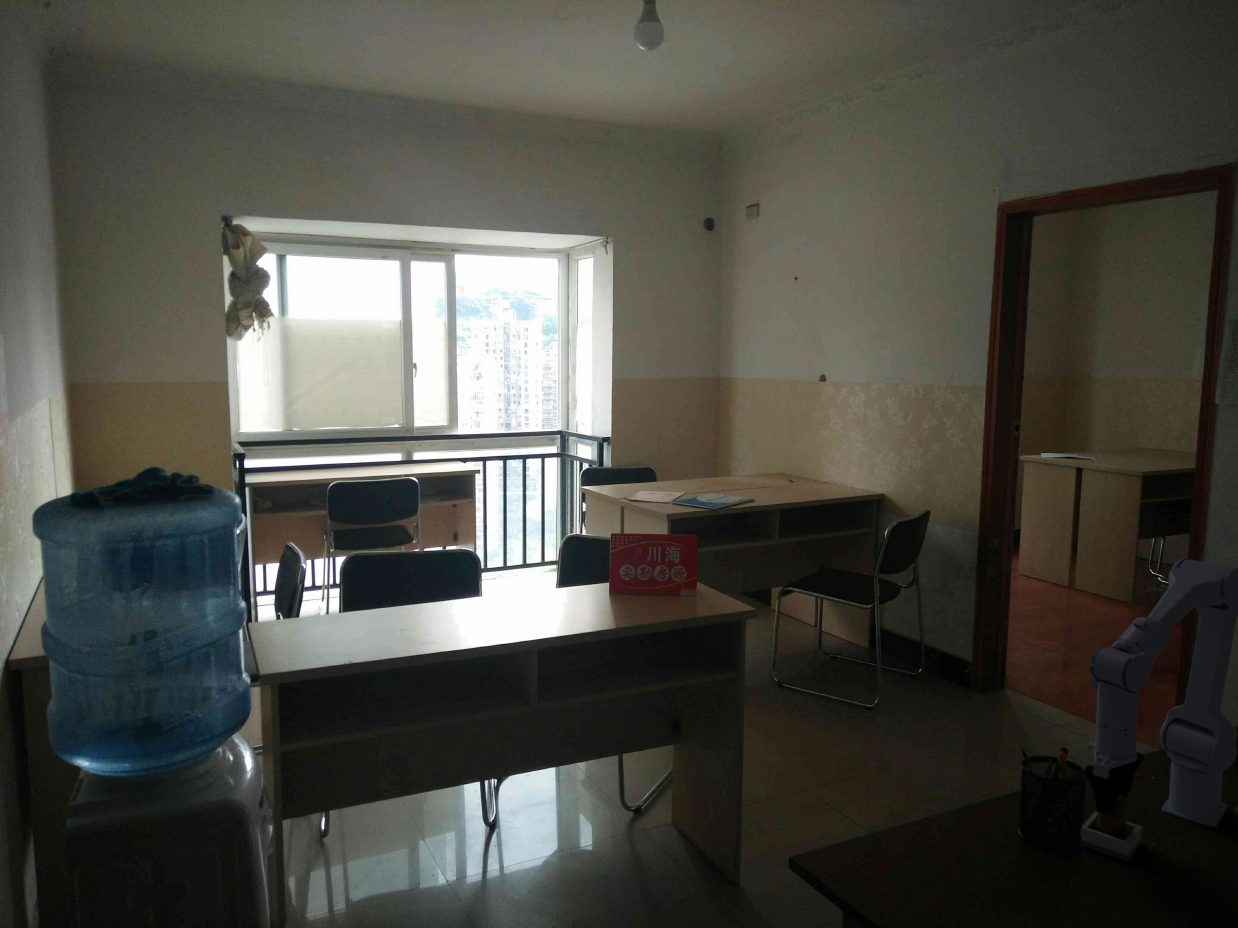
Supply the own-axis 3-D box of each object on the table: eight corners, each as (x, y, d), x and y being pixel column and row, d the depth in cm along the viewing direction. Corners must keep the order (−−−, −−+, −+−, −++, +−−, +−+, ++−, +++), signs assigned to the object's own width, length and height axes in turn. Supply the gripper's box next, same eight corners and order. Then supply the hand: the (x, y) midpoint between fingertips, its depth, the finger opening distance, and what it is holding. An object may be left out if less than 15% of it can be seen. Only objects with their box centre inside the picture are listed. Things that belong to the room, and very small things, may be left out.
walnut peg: (1128, 837, 140) (1130, 797, 139) (1120, 848, 137) (1123, 807, 136) (1101, 828, 143) (1103, 788, 142) (1093, 838, 140) (1095, 798, 139)
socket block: (1094, 827, 145) (1094, 811, 145) (1141, 843, 140) (1142, 826, 140) (1080, 844, 140) (1080, 827, 140) (1128, 861, 135) (1129, 843, 135)
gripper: (1103, 703, 145) (1100, 779, 147) (1073, 730, 135) (1070, 811, 137) (1151, 714, 140) (1147, 793, 142) (1124, 743, 130) (1120, 828, 132)
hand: (1112, 803), depth 139 cm, fingers open, 7 cm apart
